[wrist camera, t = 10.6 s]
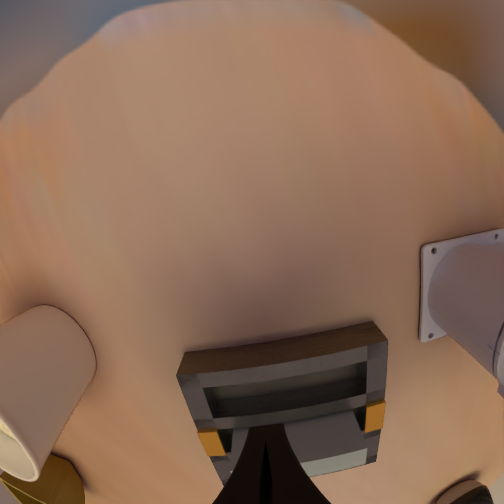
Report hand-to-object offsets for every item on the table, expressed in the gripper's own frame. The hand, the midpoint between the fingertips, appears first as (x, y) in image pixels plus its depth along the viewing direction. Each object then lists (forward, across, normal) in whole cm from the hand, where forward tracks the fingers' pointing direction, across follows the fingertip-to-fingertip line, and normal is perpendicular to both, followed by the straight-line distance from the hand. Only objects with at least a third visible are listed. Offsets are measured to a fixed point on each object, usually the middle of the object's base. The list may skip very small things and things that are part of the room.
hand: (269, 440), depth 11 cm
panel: (+10, -1, +8) cm, 13 cm away
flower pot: (+11, +30, +19) cm, 37 cm away
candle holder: (+11, +18, 0) cm, 21 cm away
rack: (+10, -1, +8) cm, 13 cm away
